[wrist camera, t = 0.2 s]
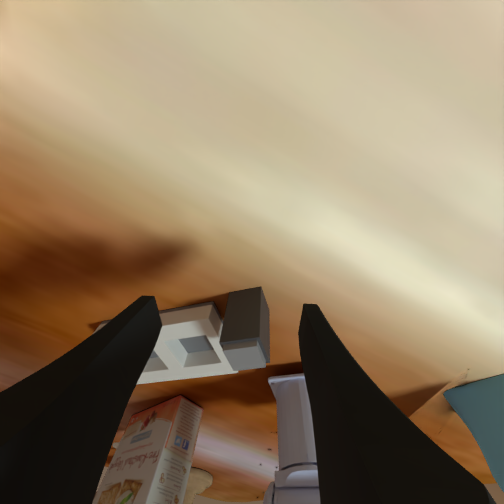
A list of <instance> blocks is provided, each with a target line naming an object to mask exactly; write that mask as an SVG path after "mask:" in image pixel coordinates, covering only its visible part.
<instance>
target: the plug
mask: <svg viewBox="0 0 504 504" xmlns="http://www.w3.org/2000/svg"><path fill="white" fill-rule="evenodd" d="M219 344H220V345H221V347H222V349H223V350H222V351H223V353H224V355H225V356H226V358H227V360H228V362H229V364H230V365H231V367H232V369H233V371H238V370H247V369H256V368H264V367H266V363H270V332H269V308H268V305H267V302H266V299H265V296H264V293H263V290H262V288H261V287H256V288H250V289H245V290H240V291H234V292H229V297H228V302H227V307H226V311H225V316H224V321H223V326H222V331H221V336H220V341H219Z"/></svg>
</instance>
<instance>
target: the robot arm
mask: <svg viewBox="0 0 504 504" xmlns="http://www.w3.org/2000/svg"><path fill="white" fill-rule="evenodd" d="M161 328H162V322H161V318H160V315H159V311H158V307H157V304H156V300H155V297H154V296H141V297H140V298H138V299H137V300H136V301H135V302H133V303H132V304H131V305H130V306H128V307H127V308H126V309H125V310H123V311H122V312H121V313H120V314H118V315H117V316H116V317H115V318H113V319H112V320H111V321H110V322H108V323H107V324H106V325H104V326H103V327H102V328H101V329H99V330H98V331H97V332H95V333H94V334H92V335H91V336H90V337H88V338H87V339H86V340H84V341H83V342H82V343H80V344H79V345H77V346H76V347H75V348H73V349H72V350H70V351H69V352H67V353H66V354H64V355H63V356H61V357H60V358H58V359H56V360H55V361H53V362H52V363H50V364H49V365H47V366H45V367H44V368H42V369H40V370H39V371H37V372H35V373H34V374H32V375H30V376H28V377H27V378H25V379H23V380H22V381H20V382H18V383H16V384H15V385H13V386H11V387H9V388H8V389H6V390H4V391H2V392H0V504H92V503H93V499H94V496H95V493H96V490H97V486H98V483H99V480H100V477H101V474H102V471H103V468H104V466H105V463H106V460H107V457H108V454H109V451H110V448H111V445H112V443H113V440H114V437H115V434H116V432H117V429H118V426H119V424H120V421H121V419H122V416H123V413H124V411H125V408H126V406H127V403H128V401H129V399H130V397H131V394H132V392H133V390H134V388H135V386H136V384H137V382H138V380H139V378H140V376H141V374H142V372H143V370H144V368H145V366H146V364H147V362H148V360H149V358H150V356H151V354H152V352H153V350H154V347H155V345H156V343H157V340H158V337H159V334H160V331H161ZM298 335H299V347H300V356H301V361H302V366H303V371H304V373H301V374H291V375H282V376H273V377H269V378H268V383H269V385H270V387H271V389H272V392H273V394H274V396H275V398H276V401H277V427H278V456H279V471H275V482H271V483H270V484H269V486H268V489H267V490H266V492H265V495H264V500H263V504H496V503H495V501H494V499H493V498H492V496H491V495H490V494H489V492H488V490H487V489H486V487H485V486H484V484H483V483H481V482H480V481H479V480H478V479H477V478H475V477H474V476H473V475H472V474H471V473H469V472H468V471H467V470H466V469H465V468H463V467H462V466H461V465H460V464H459V463H458V462H456V461H455V460H454V459H453V458H452V457H450V456H449V455H448V454H447V453H446V452H444V451H443V450H442V449H441V448H440V447H439V446H438V445H437V444H435V443H434V442H433V441H432V440H431V439H430V438H429V437H428V436H427V435H426V434H424V433H423V432H422V431H421V430H420V429H419V428H418V427H417V426H416V425H415V424H414V423H413V422H412V421H411V420H410V419H409V418H408V417H407V416H406V415H405V414H404V413H403V412H402V411H401V410H400V409H399V408H398V407H397V406H396V405H395V404H394V403H393V402H392V401H391V400H390V399H389V398H388V397H387V396H386V395H385V394H384V393H383V392H382V391H381V390H380V389H379V388H378V386H377V385H376V384H375V383H374V382H373V381H372V380H371V379H370V377H369V376H368V375H367V374H366V373H365V372H364V370H363V369H362V368H361V367H360V365H359V364H358V363H357V362H356V360H355V359H354V358H353V357H352V355H351V354H350V353H349V351H348V350H347V349H346V347H345V346H344V345H343V343H342V342H341V340H340V339H339V338H338V336H337V335H336V333H335V332H334V330H333V329H332V327H331V326H330V324H329V323H328V321H327V320H326V318H325V316H324V315H323V313H322V311H321V310H320V308H319V306H318V305H317V304H303V310H302V315H301V321H300V326H299V332H298Z"/></svg>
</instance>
